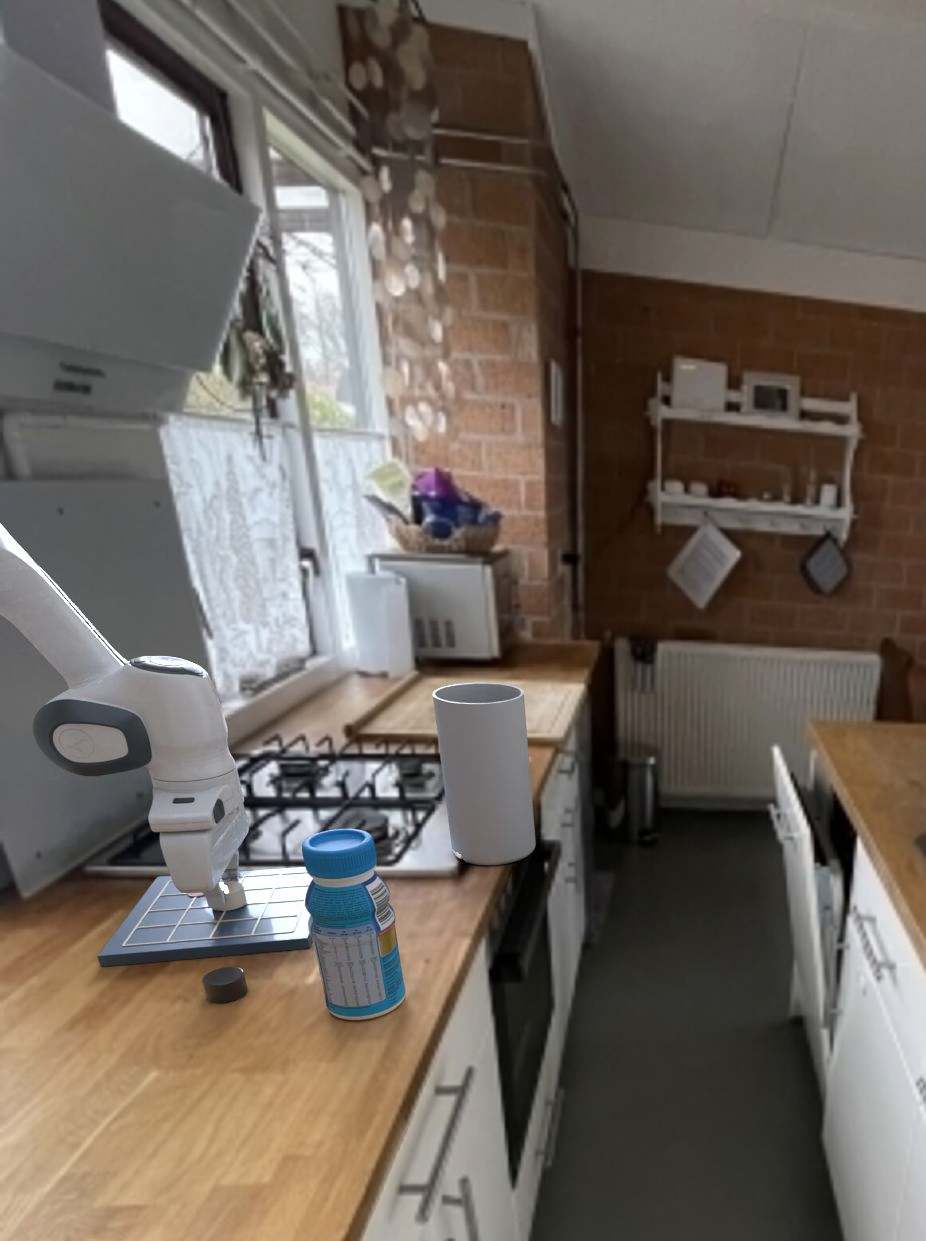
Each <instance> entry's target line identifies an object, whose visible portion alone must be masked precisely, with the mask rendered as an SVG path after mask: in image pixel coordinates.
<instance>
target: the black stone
mask: <svg viewBox="0 0 926 1241" xmlns="http://www.w3.org/2000/svg"><path fill="white" fill-rule="evenodd" d="M201 984H202V986H203V987H202V988H203V989H204V993H205V997H206V999H207V1001H208V1002H210V1003H214V1004H227V1003H231V1002H234V1001H237V1000H239V999H241V998H242V997H244V996H246V995H247V993H248V992H249V991H248V990H249V988H248V984H247V980H246V976H245V973H244V970H243V969H242V968H241V967H237V966H223V967H219V968H216V969H213V970H211V971H209V972H207V973H206V974H204V975H203V977H202V978H201Z"/></svg>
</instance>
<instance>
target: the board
mask: <svg viewBox="0 0 926 1241" xmlns="http://www.w3.org/2000/svg"><path fill="white" fill-rule="evenodd" d="M239 871H240V876H241V877H240V879H239V881H238V882H240V883H242V884H243V886H244V890H245V894H246V898H247V903H246V904H245V905H244V906H242V907H240V908H237V909H234V910H229V911H217V910H214V909H212V908H210V907H209V906H208V903H207V900H206V897H205V896H204V894H203V893H202V892H200V893H181V892H180V891H179V890H178V889H177V888H176V887H175V885H174V883H173V881H172V879H171V876H170V875H161V876H156V878H155V879H154V881H153V882H152V883H151V885H150V886H149V888H148V889H147V890H145V892H144V893H143V895H142V896H141V898H139V900H138V901H137V903H136V905H135V906H133V908H132V910H131V911H130V912H129V913H128V915H127V916H126V918H124V920H123V921H122V923H121V924H120V925H119V926H118V928H117V929H116V931H115V932H114V933H113V934H112V936H111V937H110V938H109V939H108V941H107V942H106V944H105V945H104V947H103V948H102V949H101V950H100V952H99V953H98V955H97V960H98V963H99V966H100V967H101V968H104V967H115V966H116V967H117V966H125V965H126V966H127V965H138V964H139V965H140V964H149V963H151V964H152V963H160V962H173V961H182V960H194V959H206V958H207V959H208V958H216V957H217V958H218V957H228V956H229V957H230V956H237V955H238V956H240V955H250V954H251V955H252V954H263V953H274V952H284V951H295V950H297V951H298V950H306V949H307V950H308V949H311V947H312V944H313V939H312V937H311V935H310V933H309V928H308V920H309V917H310V915H311V914H310V913H309V912H308V911H307V910H306V907H305V897H306V892H307V889H308V887H309V884H310V882H311V881H312V879H313V878H312V877H310V876H309V874H308V872H307V871H306V868H305V866H303V867H302V866H301V867H288V868H287V867H286V868H273V869H272V868H271V869H255V870H254V869H253V870H242V871H241V870H239ZM221 882H223V881H222V877H221V878H220V883H221Z"/></svg>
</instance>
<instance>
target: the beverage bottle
mask: <svg viewBox="0 0 926 1241" xmlns="http://www.w3.org/2000/svg"><path fill="white" fill-rule="evenodd" d="M375 844H376V843H375V840H374V838H373V836H372V835H371V834H370V833H369V832H367V831H365V830H362V829H356V828H335V829H329V830H325V831H321V832H317V833H314V834H312V835H310V836H308V837H307V838H306V839H304V840H303V841H302V844H301V853H302V859H303V863H304V867H305V868H306V871H307V872H308V874H309V876H310V877H312V878H313V879H312V881H311V882H310V884H309V887H308V889H307V892H306V897H305V907H306V910H307V911H308V912H309V913H310V914H311V915H310V917H309V920H308V928H309V933H310V935H311V937H312V939H313V941H312V944H313V947H314V948H313V949H314V952H315V957H316V962H317V966H318V970H319V975H320V980H321V984H322V990H323V993H324V1000H325V1005H326V1008H327V1011H328V1012H329V1013H330V1014H331V1015H333V1016H334V1017H336V1018H339V1019H342V1020H346V1021H365V1020H370V1019H376V1018H378V1017H381V1016H383V1015H386V1014H388V1013H390V1012H392V1011H393V1010H396V1008H398V1007H399V1006H400V1005H401V1004H402V1002H404V999H405V997H406V994H407V993H406V991H407V990H406V986H405V982H404V975H403V971H402V970H403V969H402V968H403V967H402V963H401V955H400V949H399V944H398V943H399V942H398V936H397V935H398V934H397V931H396V930H397V929H396V914H395V910H394V908H393V907H392V905H391V904H390V902H389V901H390V899H391V891H390V889H389V887H388V885H387V883H386V882H385V880H384V879H383V877H382V876H381V875H380V874H379V873H378V872H376V870H375V869H376V867H377V863H378V858H377V850H376V846H375Z"/></svg>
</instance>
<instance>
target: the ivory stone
mask: <svg viewBox="0 0 926 1241" xmlns="http://www.w3.org/2000/svg"><path fill="white" fill-rule="evenodd" d="M219 884H220V886H221V888H222V890H225V893H226V898H227V902H226V904H225V906H224V907H223V908H214V910H217V911H229V910H234V909H237V908H240V907H242V906H244V905H245V904H246V903H247V898H246V894H245V890H244V886H243V884H242V883H240V882H236V881H227V882H221V883H219Z"/></svg>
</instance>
